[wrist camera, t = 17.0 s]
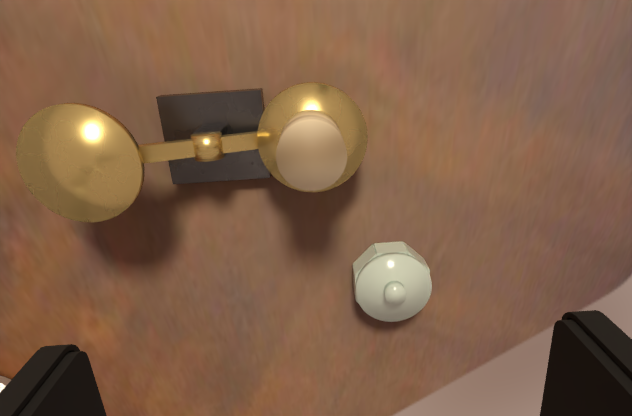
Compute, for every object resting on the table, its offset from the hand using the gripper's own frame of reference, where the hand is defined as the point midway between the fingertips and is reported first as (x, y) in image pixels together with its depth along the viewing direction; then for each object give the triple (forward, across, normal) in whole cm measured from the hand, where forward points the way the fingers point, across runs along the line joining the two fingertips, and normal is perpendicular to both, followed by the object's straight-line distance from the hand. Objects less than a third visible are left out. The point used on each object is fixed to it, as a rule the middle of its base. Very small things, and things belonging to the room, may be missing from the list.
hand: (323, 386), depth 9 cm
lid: (+28, -6, +14) cm, 32 cm away
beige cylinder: (+24, 0, 0) cm, 24 cm away
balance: (+28, +8, 0) cm, 29 cm away
